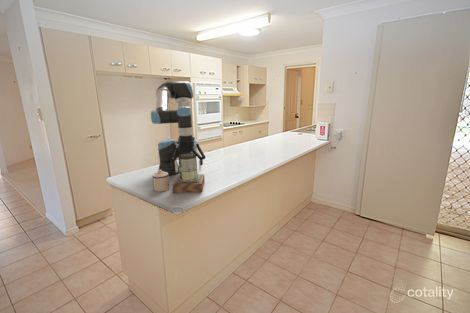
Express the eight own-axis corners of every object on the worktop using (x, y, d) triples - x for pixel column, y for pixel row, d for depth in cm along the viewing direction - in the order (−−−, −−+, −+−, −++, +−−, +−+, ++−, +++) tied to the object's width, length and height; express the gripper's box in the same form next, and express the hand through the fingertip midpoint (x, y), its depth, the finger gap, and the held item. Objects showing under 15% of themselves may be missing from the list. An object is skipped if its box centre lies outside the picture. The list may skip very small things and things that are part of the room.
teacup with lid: (173, 188, 134) (171, 169, 131) (158, 193, 128) (156, 173, 125) (163, 183, 142) (161, 165, 139) (148, 187, 136) (146, 169, 133)
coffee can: (176, 179, 134) (174, 155, 130) (190, 174, 141) (188, 152, 138) (187, 183, 127) (185, 158, 124) (201, 177, 135) (200, 154, 131)
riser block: (173, 193, 128) (172, 184, 126) (178, 182, 143) (178, 174, 142) (202, 192, 128) (201, 182, 127) (204, 181, 144) (204, 173, 142)
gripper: (161, 136, 124) (165, 174, 129) (207, 135, 125) (209, 172, 130) (164, 134, 131) (168, 169, 136) (208, 133, 132) (210, 168, 137)
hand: (188, 171), depth 133 cm, fingers open, 13 cm apart
